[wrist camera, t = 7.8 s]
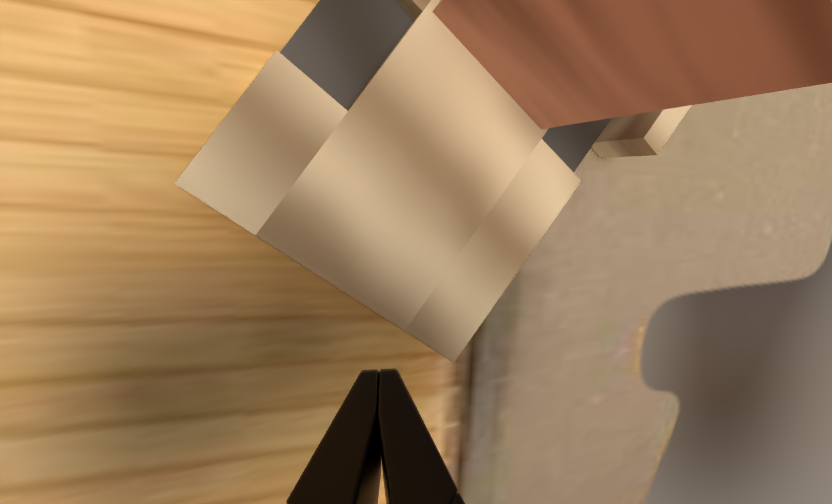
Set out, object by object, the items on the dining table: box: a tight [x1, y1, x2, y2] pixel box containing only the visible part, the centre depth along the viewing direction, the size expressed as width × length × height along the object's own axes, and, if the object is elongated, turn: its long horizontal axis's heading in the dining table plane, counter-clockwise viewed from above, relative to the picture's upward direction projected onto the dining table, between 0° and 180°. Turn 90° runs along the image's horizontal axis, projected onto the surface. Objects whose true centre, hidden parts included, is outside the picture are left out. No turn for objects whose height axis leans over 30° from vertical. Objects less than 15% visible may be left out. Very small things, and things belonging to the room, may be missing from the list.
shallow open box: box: [175, 0, 691, 363], centre depth 17 cm, size 25×16×4 cm, turn 142°
